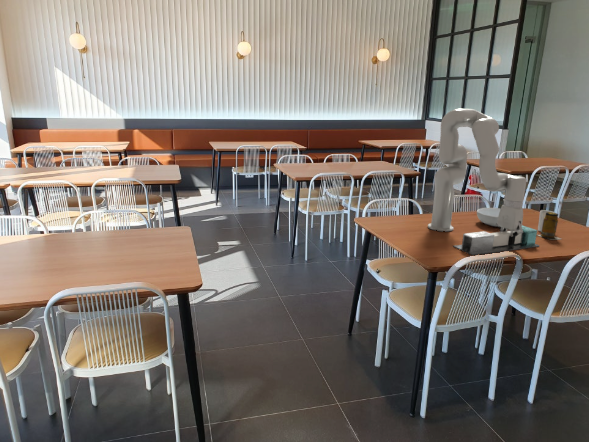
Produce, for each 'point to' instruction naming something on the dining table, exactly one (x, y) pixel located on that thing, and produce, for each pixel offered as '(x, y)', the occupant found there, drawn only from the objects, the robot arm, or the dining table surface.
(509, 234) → the white rectangular stick
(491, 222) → the serving bowl
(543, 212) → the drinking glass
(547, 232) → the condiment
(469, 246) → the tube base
